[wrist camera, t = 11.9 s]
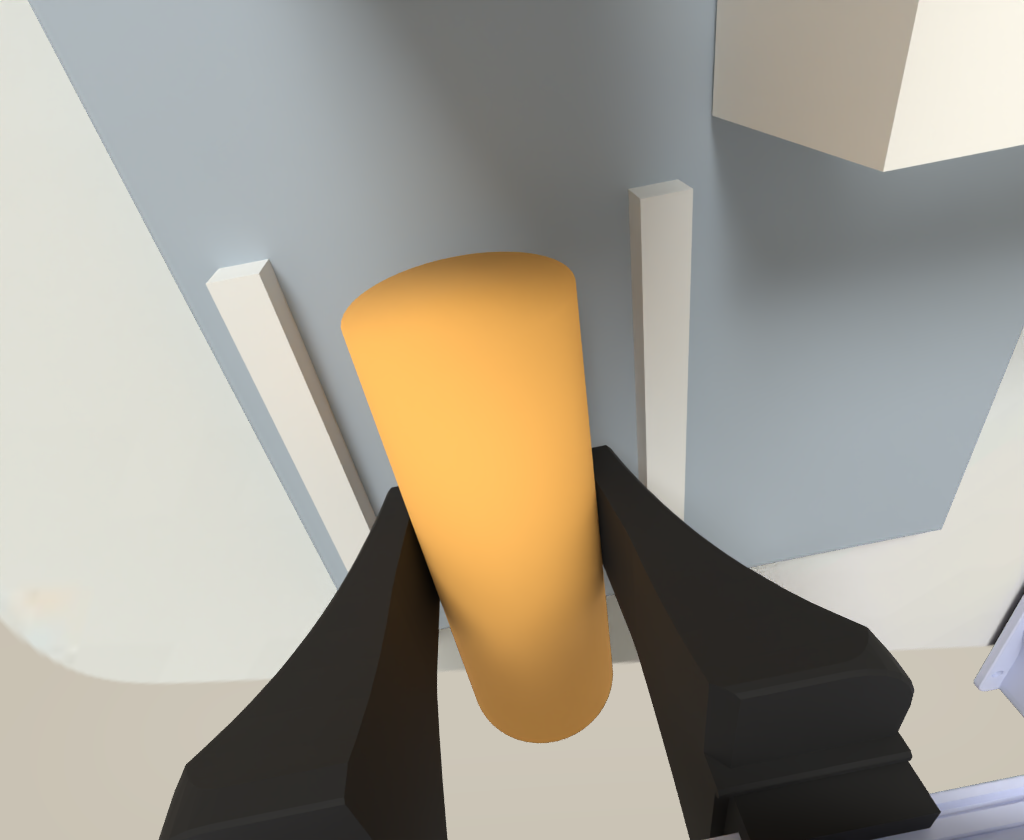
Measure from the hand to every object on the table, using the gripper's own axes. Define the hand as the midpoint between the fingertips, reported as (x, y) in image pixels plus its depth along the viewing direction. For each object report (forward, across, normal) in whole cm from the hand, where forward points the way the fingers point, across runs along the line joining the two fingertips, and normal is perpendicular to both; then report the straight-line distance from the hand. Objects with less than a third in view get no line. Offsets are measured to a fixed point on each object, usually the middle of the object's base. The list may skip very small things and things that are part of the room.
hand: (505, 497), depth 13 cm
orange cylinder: (+1, 0, 0) cm, 1 cm away
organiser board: (+3, -4, -2) cm, 5 cm away
